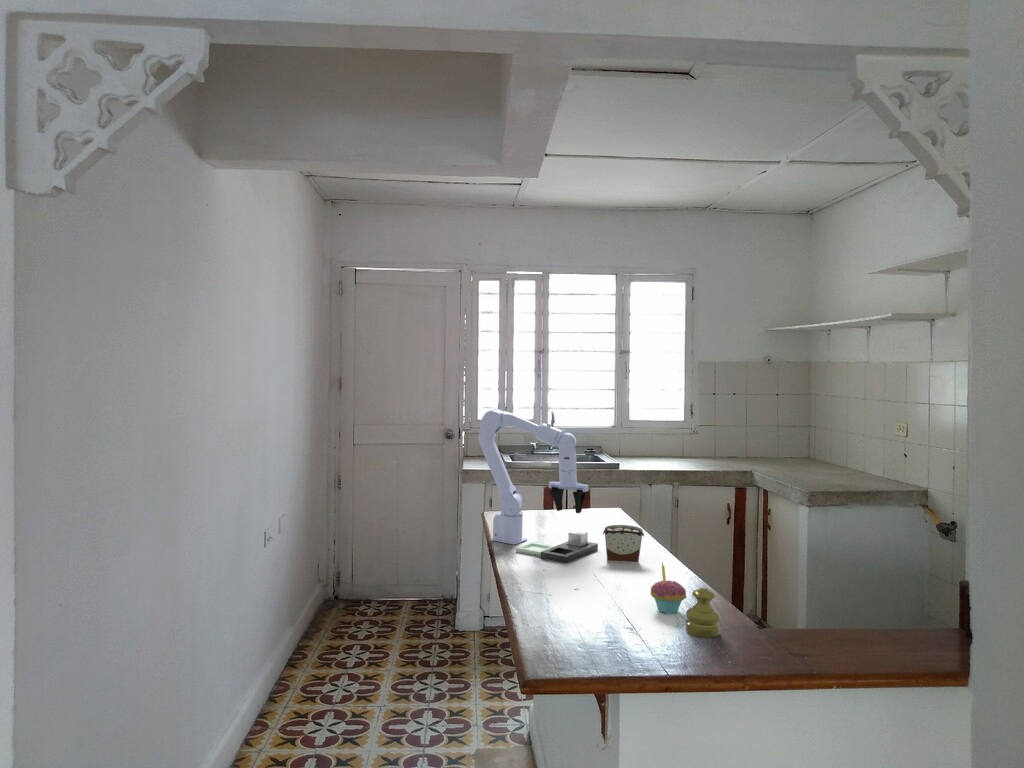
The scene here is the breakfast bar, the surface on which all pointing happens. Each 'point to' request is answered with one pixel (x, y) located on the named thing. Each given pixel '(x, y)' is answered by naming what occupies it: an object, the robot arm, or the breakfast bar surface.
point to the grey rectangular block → (578, 538)
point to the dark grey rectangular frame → (568, 552)
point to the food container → (623, 543)
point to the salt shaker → (703, 615)
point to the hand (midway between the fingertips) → (569, 511)
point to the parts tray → (533, 548)
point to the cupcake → (668, 594)
